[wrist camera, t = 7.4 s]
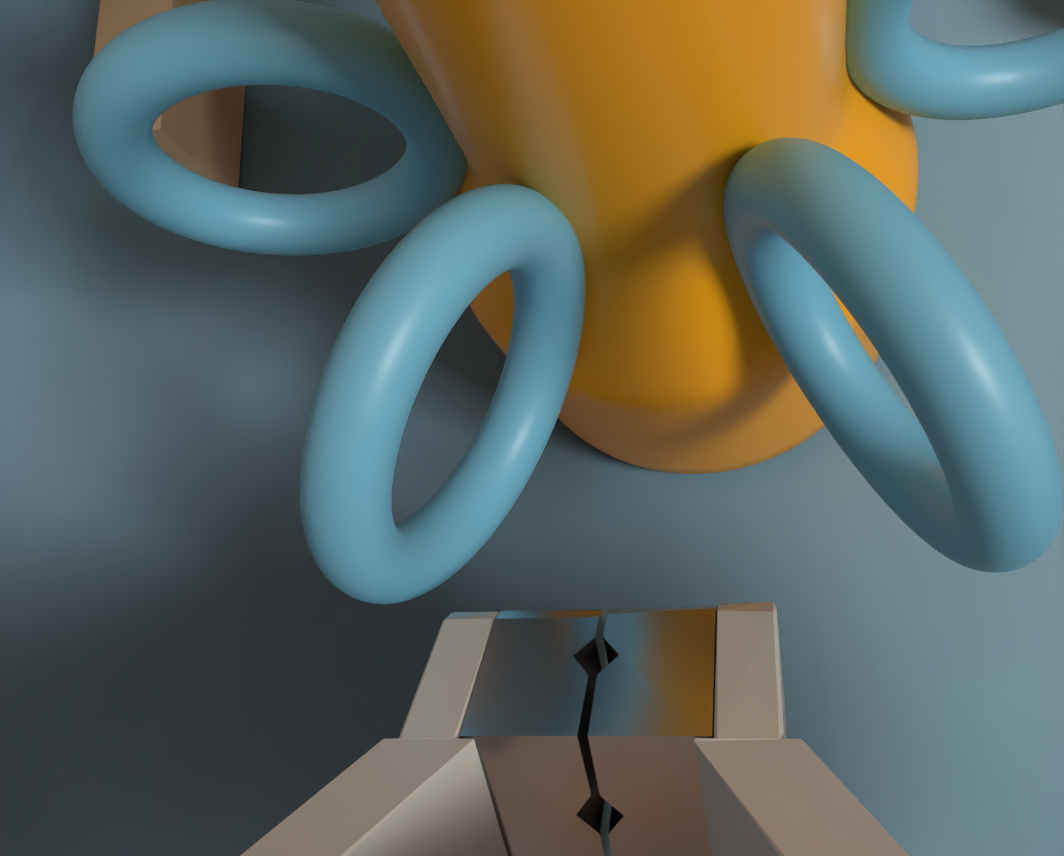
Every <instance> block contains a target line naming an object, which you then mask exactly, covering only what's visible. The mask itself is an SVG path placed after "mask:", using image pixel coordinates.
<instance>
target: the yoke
mask: <svg viewBox="0 0 1064 856" xmlns="http://www.w3.org/2000/svg"><path fill="white" fill-rule="evenodd" d="M204 1H210V0H100V7H99V16H98V24H97V33H96V42H95V50H94V57H95V55H96V54H97V53H98V52H99V51H100V50H101V49H102V48H103V47H104V46H105V45H106V44H107V43H108V42H109V41H111V40H112V39H113V38H114V37H116V36H117V35H118V34H120V33H121V32H123V31H124V30H126V29H128V28H129V27H131V26H133V25H134V24H136V23H138V22H140V21H142V20H144V19H146V18H149V17H151V16H153V15H156V14H159V13H161V12H164V11H167V10H170V9H173V8H177V7H180V6H184V5H189V4H193V3H198V2H204ZM245 87H246V86H235V87H228V88H222V89H217V90H212V91H208V92H204V93H201V94H198V95H195V96H192V97H189V98H187V99H185V100H182V101H180V102H178V103H176V104H175V105H173V106H171V107H170V108H168V109H167V110H166V111H164V112H163V113H162V114H161V115H160V116H159V117H158V118H157V120H156V121H155V123H154V125H153V130H152V131H153V136H154V138H155V140H156V142H157V144H158V145H159V146H160V147H161V149H162V150H163V151H164V152H165V153H166V154H167V155H169V156H170V157H171V158H172V159H173V160H175V161H176V162H178V163H179V164H181V165H182V166H184V167H186V168H187V169H189V170H191V171H193V172H195V173H197V174H199V175H201V176H204V177H206V178H208V179H211V180H214V181H217V182H220V183H223V184H226V185H229V186H233V187H237V188H239V174H240V159H241V145H242V130H243V116H244V101H245Z"/></svg>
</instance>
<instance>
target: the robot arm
mask: <svg viewBox="0 0 1064 856" xmlns="http://www.w3.org/2000/svg"><path fill="white" fill-rule="evenodd" d="M240 856H909V855H908V854H907V853H906V852H905V851H904V850H903V849H902V848H901V846H900V845H899V844H898V843H897V842H896V841H895V840H894V839H893V838H892V837H891V836H890V834H889V833H888V832H887V831H886V830H885V829H884V828H883V827H882V826H881V825H880V824H879V823H878V821H877V820H876V819H875V818H874V817H873V816H872V815H871V814H870V813H869V812H868V811H867V809H866V808H865V807H864V806H863V805H862V804H861V803H860V802H859V801H858V800H857V799H856V797H855V796H854V795H853V794H852V793H851V792H850V791H849V790H848V789H847V788H846V787H845V785H844V784H843V783H842V782H841V781H840V780H839V779H838V778H837V777H836V776H835V775H834V773H833V772H832V771H831V770H830V769H829V768H828V767H827V766H826V765H825V764H824V763H823V762H822V760H821V759H820V758H819V757H818V756H817V755H816V754H815V753H814V752H813V751H812V750H811V748H810V747H809V746H808V745H807V744H806V743H805V742H804V741H803V740H802V739H788V737H787V725H786V714H785V702H784V690H783V678H782V666H781V654H780V642H779V630H778V618H777V608H776V606H775V605H774V603H773V602H762V603H743V604H725V605H719V607H718V606H710V607H683V608H656V609H628V610H612V611H611V612H610V613H608V614H607V615H606V613H605V612H604V611H603V610H551V611H502V612H452V613H451V614H450V615H449V616H448V617H447V618H446V619H445V620H444V621H443V622H442V624H441V627H440V629H439V632H438V635H437V637H436V640H435V643H434V645H433V648H432V651H431V653H430V656H429V659H428V661H427V664H426V667H425V669H424V672H423V674H422V677H421V680H420V682H419V685H418V688H417V690H416V693H415V696H414V698H413V701H412V704H411V706H410V709H409V712H408V714H407V717H406V720H405V722H404V725H403V728H402V730H401V733H400V736H399V738H398V739H382V740H381V741H380V742H379V743H378V744H376V745H375V746H374V747H373V748H371V749H370V750H369V751H368V752H367V753H365V754H364V755H363V756H362V757H360V758H359V759H358V760H357V761H355V762H354V763H353V764H352V765H351V766H349V767H348V768H347V769H346V770H344V771H343V772H342V773H341V774H340V775H338V776H337V777H336V778H335V779H333V780H332V781H331V782H330V783H329V784H327V785H326V786H325V787H324V788H322V789H321V790H320V791H319V792H317V793H316V794H315V795H314V796H313V797H311V798H310V799H309V800H308V801H306V802H305V803H304V804H303V805H302V806H300V807H299V808H298V809H297V810H295V811H294V812H293V813H292V814H290V815H289V816H288V817H287V818H286V819H284V820H283V821H282V822H281V823H279V824H278V825H277V826H276V827H275V828H273V829H272V830H271V831H270V832H268V833H267V834H266V835H265V836H264V837H262V838H261V839H260V840H259V841H257V842H256V843H255V844H254V845H252V846H251V847H250V848H249V849H248V850H246V851H245V852H244V853H243V854H241V855H240Z"/></svg>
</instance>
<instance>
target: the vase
mask: <svg viewBox="0 0 1064 856" xmlns="http://www.w3.org/2000/svg"><path fill="white" fill-rule="evenodd" d="M375 1H376V2H377V4H378V6H379V8H380V9H381V11H382V13H383V14H384V16H385V18H386V19H387V21H388V23H389V24H390V26H391V28H392V30H391V29H389V28H387V27H385V26H383V25H381V24H379V23H377V22H374V21H372V20H369V19H367V18H364V17H362V16H359V15H356V14H353V13H350V12H347V11H344V10H340V9H337V8H333V7H329V6H325V5H320V4H315V3H310V2H304V1H297V0H210V1H204V2H198V3H193V4H189V5H184V6H180V7H177V8H173V9H170V10H167V11H164V12H161V13H159V14H156V15H153V16H151V17H149V18H146V19H144V20H142V21H140V22H138V23H136V24H134V25H133V26H131V27H129V28H128V29H126V30H124V31H123V32H121V33H120V34H118V35H117V36H116V37H114V38H113V39H112V40H111V41H109V42H108V43H107V44H106V45H105V46H104V47H103V48H102V49H101V50H100V51H99V52H98V53H97V54H96V55H95V57H94V58H93V59H92V60H91V62H90V63H89V65H88V66H87V68H86V69H85V71H84V73H83V75H82V77H81V79H80V81H79V84H78V86H77V89H76V93H75V97H74V102H73V113H72V119H73V129H74V135H75V139H76V142H77V145H78V148H79V151H80V153H81V155H82V157H83V159H84V161H85V163H86V165H87V167H88V168H89V170H90V171H91V173H92V174H93V175H94V177H95V178H96V179H97V181H98V182H99V183H100V184H101V185H102V186H103V187H104V188H105V190H106V191H107V192H108V193H110V194H111V195H112V196H113V197H114V198H115V199H116V200H117V201H119V202H120V203H121V204H122V205H124V206H125V207H126V208H128V209H129V210H131V211H132V212H134V213H135V214H137V215H138V216H140V217H142V218H143V219H145V220H147V221H149V222H151V223H153V224H154V225H156V226H158V227H161V228H163V229H165V230H167V231H170V232H172V233H174V234H177V235H179V236H182V237H185V238H188V239H191V240H194V241H197V242H200V243H204V244H207V245H211V246H215V247H220V248H224V249H229V250H235V251H240V252H247V253H255V254H265V255H281V256H308V255H323V254H333V253H340V252H347V251H352V250H357V249H362V248H366V247H370V246H374V245H377V244H380V243H384V242H387V241H389V240H392V239H395V238H397V237H400V236H402V235H404V234H406V233H408V234H407V235H406V236H405V237H404V238H403V239H402V240H401V241H400V242H399V243H398V244H397V245H396V246H395V248H394V249H393V250H392V251H391V252H390V254H389V255H388V256H387V257H386V258H385V260H384V261H383V262H382V264H381V265H380V266H379V268H378V269H377V270H376V272H375V273H374V275H373V276H372V277H371V279H370V280H369V282H368V283H367V285H366V286H365V288H364V289H363V291H362V293H361V294H360V296H359V298H358V299H357V301H356V303H355V304H354V306H353V308H352V310H351V311H350V313H349V315H348V317H347V319H346V321H345V323H344V325H343V327H342V329H341V331H340V333H339V335H338V337H337V339H336V341H335V343H334V345H333V348H332V350H331V352H330V355H329V357H328V360H327V362H326V365H325V367H324V370H323V372H322V375H321V378H320V381H319V384H318V387H317V390H316V393H315V396H314V400H313V403H312V407H311V410H310V414H309V418H308V422H307V427H306V432H305V437H304V443H303V449H302V456H301V465H300V482H299V497H300V511H301V519H302V525H303V530H304V534H305V537H306V541H307V544H308V547H309V549H310V552H311V554H312V556H313V558H314V560H315V562H316V564H317V566H318V567H319V569H320V570H321V572H322V573H323V574H324V576H325V577H326V578H327V579H328V580H329V581H330V582H331V583H332V584H333V585H334V586H335V587H336V588H338V589H339V590H340V591H342V592H343V593H345V594H347V595H348V596H350V597H352V598H355V599H357V600H360V601H363V602H367V603H373V604H394V603H400V602H404V601H408V600H411V599H414V598H416V597H419V596H421V595H423V594H425V593H427V592H429V591H431V590H433V589H434V588H436V587H438V586H439V585H441V584H442V583H444V582H445V581H446V580H448V579H449V578H450V577H452V576H453V575H454V574H455V573H456V572H458V571H459V570H460V569H461V568H462V567H463V566H464V565H465V564H466V563H467V562H468V561H469V560H470V559H471V558H472V557H473V556H474V555H475V554H476V553H477V552H478V551H479V550H480V549H481V548H482V546H483V545H484V544H485V543H486V542H487V540H488V539H489V538H490V537H491V536H492V534H493V533H494V532H495V530H496V529H497V528H498V526H499V525H500V524H501V522H502V521H503V520H504V518H505V517H506V515H507V514H508V512H509V511H510V509H511V508H512V506H513V505H514V503H515V502H516V500H517V498H518V497H519V495H520V494H521V492H522V490H523V489H524V487H525V485H526V483H527V482H528V480H529V478H530V476H531V474H532V473H533V471H534V469H535V467H536V465H537V463H538V461H539V459H540V457H541V455H542V453H543V451H544V449H545V446H546V444H547V442H548V440H549V438H550V435H551V433H552V431H553V428H554V426H555V423H556V421H557V418H559V419H560V420H561V421H562V422H563V423H564V424H565V425H566V426H567V427H568V428H569V429H570V430H572V431H573V432H574V433H575V434H576V435H577V436H579V437H580V438H581V439H583V440H584V441H586V442H587V443H589V444H590V445H592V446H593V447H595V448H597V449H599V450H600V451H602V452H604V453H606V454H608V455H610V456H612V457H614V458H616V459H619V460H621V461H624V462H627V463H630V464H633V465H636V466H639V467H643V468H647V469H651V470H656V471H663V472H670V473H681V474H702V473H716V472H724V471H729V470H734V469H739V468H743V467H747V466H750V465H754V464H757V463H760V462H763V461H766V460H768V459H771V458H773V457H775V456H777V455H780V454H782V453H784V452H786V451H788V450H790V449H792V448H794V447H795V446H797V445H799V444H801V443H802V442H804V441H805V440H807V439H808V438H810V437H811V436H812V435H814V434H815V433H817V432H818V431H819V430H821V429H822V428H823V427H824V426H826V428H827V429H828V431H829V432H830V433H831V435H832V436H833V438H834V439H835V440H836V442H837V443H838V445H839V446H840V447H841V449H842V450H843V451H844V453H845V454H846V455H847V457H848V458H849V459H850V460H851V462H852V463H853V464H854V466H855V467H856V468H857V469H858V471H859V472H860V473H861V474H862V476H863V477H864V478H865V479H866V481H867V482H868V483H869V484H870V485H871V487H872V488H873V489H874V490H875V491H876V492H877V494H878V495H879V496H880V497H881V498H882V499H883V500H884V502H885V503H886V504H887V505H888V506H889V507H890V508H891V509H892V510H893V511H894V512H895V513H896V514H897V515H898V517H899V518H900V519H901V520H902V521H903V522H904V523H905V524H906V525H908V526H909V527H910V528H911V529H912V530H913V531H914V532H915V533H916V534H917V535H918V536H919V537H921V538H922V539H923V540H924V541H925V542H927V543H928V544H929V545H930V546H932V547H933V548H934V549H936V550H937V551H938V552H940V553H941V554H943V555H944V556H946V557H947V558H949V559H951V560H953V561H955V562H956V563H959V564H961V565H963V566H965V567H968V568H971V569H974V570H978V571H983V572H1008V571H1012V570H1016V569H1019V568H1022V567H1024V566H1026V565H1028V564H1030V563H1032V562H1033V561H1035V560H1036V559H1037V558H1038V557H1040V556H1041V555H1042V554H1043V553H1044V552H1045V551H1046V549H1047V548H1048V547H1049V546H1050V544H1051V543H1052V541H1053V539H1054V537H1055V535H1056V533H1057V530H1058V528H1059V524H1060V520H1061V515H1062V507H1063V488H1062V479H1061V472H1060V467H1059V462H1058V458H1057V453H1056V450H1055V446H1054V443H1053V439H1052V436H1051V433H1050V430H1049V427H1048V425H1047V422H1046V419H1045V417H1044V414H1043V411H1042V409H1041V407H1040V404H1039V402H1038V400H1037V397H1036V395H1035V393H1034V391H1033V388H1032V386H1031V384H1030V382H1029V380H1028V378H1027V376H1026V374H1025V372H1024V370H1023V368H1022V366H1021V364H1020V362H1019V360H1018V358H1017V357H1016V355H1015V353H1014V351H1013V349H1012V347H1011V346H1010V344H1009V342H1008V340H1007V339H1006V337H1005V335H1004V334H1003V332H1002V330H1001V328H1000V327H999V325H998V324H997V322H996V320H995V319H994V317H993V316H992V314H991V312H990V311H989V309H988V308H987V306H986V305H985V303H984V302H983V300H982V299H981V297H980V296H979V294H978V293H977V291H976V290H975V288H974V287H973V286H972V284H971V283H970V281H969V280H968V279H967V277H966V276H965V274H964V273H963V272H962V270H961V269H960V268H959V266H958V265H957V264H956V262H955V261H954V260H953V259H952V257H951V256H950V255H949V253H948V252H947V251H946V250H945V248H944V247H943V246H942V245H941V244H940V242H939V241H938V240H937V239H936V238H935V236H934V235H933V234H932V233H931V232H930V231H929V229H928V228H927V227H926V226H925V225H924V224H923V223H922V222H921V221H920V219H919V218H918V217H917V216H916V215H915V208H916V200H917V189H918V151H917V143H916V137H915V132H914V127H913V123H912V119H911V116H910V115H913V116H918V117H924V118H931V119H943V120H973V119H986V118H995V117H1003V116H1009V115H1015V114H1020V113H1025V112H1030V111H1035V110H1039V109H1043V108H1047V107H1051V106H1054V105H1058V104H1061V103H1064V27H1063V28H1060V29H1057V30H1054V31H1051V32H1048V33H1045V34H1042V35H1038V36H1035V37H1031V38H1027V39H1023V40H1019V41H1014V42H1009V43H1003V44H996V45H986V46H955V45H947V44H942V43H938V42H934V41H931V40H929V39H927V38H925V37H923V36H921V35H920V34H918V33H917V32H916V31H915V30H914V29H913V28H912V26H911V24H910V21H909V11H910V7H911V4H912V1H913V0H375ZM246 85H283V86H294V87H302V88H308V89H314V90H319V91H323V92H328V93H332V94H335V95H339V96H342V97H345V98H348V99H351V100H353V101H356V102H358V103H360V104H363V105H365V106H367V107H369V108H371V109H373V110H375V111H376V112H378V113H380V114H381V115H383V116H384V117H386V118H387V119H388V120H390V121H391V122H392V123H393V124H394V125H395V126H396V127H397V128H398V129H399V130H400V131H401V133H402V134H403V136H404V138H405V140H406V150H405V153H404V155H403V156H402V158H401V159H400V160H399V161H398V162H397V163H396V164H395V165H394V166H393V167H392V168H391V169H389V170H388V171H386V172H385V173H383V174H382V175H380V176H378V177H376V178H374V179H372V180H369V181H367V182H365V183H362V184H359V185H356V186H353V187H349V188H345V189H341V190H336V191H330V192H323V193H313V194H276V193H265V192H258V191H252V190H246V189H242V188H237V187H233V186H229V185H226V184H223V183H220V182H217V181H214V180H211V179H208V178H206V177H204V176H201V175H199V174H197V173H195V172H193V171H191V170H189V169H187V168H186V167H184V166H182V165H181V164H179V163H178V162H176V161H175V160H173V159H172V158H171V157H170V156H169V155H167V154H166V153H165V152H164V151H163V150H162V149H161V147H160V146H159V145H158V144H157V142H156V140H155V138H154V136H153V131H152V130H153V125H154V123H155V121H156V120H157V118H158V117H159V116H160V115H161V114H162V113H163V112H164V111H166V110H167V109H168V108H170V107H171V106H173V105H175V104H176V103H178V102H180V101H182V100H185V99H187V98H189V97H192V96H195V95H198V94H201V93H204V92H208V91H212V90H217V89H222V88H228V87H235V86H246ZM468 306H470V307H471V309H472V311H473V312H474V314H475V316H476V317H477V319H478V321H479V322H480V323H481V325H482V326H483V328H484V329H485V330H486V332H487V333H488V334H489V336H490V337H491V338H492V339H493V341H494V342H495V343H496V344H497V346H498V347H499V348H500V349H501V351H502V352H503V353H504V354H505V355H506V360H505V364H504V367H503V371H502V374H501V377H500V380H499V383H498V386H497V389H496V391H495V394H494V396H493V399H492V401H491V404H490V406H489V409H488V411H487V413H486V415H485V418H484V420H483V422H482V424H481V426H480V428H479V430H478V432H477V434H476V436H475V437H474V439H473V441H472V443H471V445H470V446H469V448H468V450H467V451H466V453H465V455H464V456H463V458H462V459H461V461H460V462H459V464H458V465H457V467H456V468H455V470H454V471H453V472H452V474H451V475H450V476H449V478H448V479H447V480H446V482H445V483H444V484H443V485H442V487H441V488H440V489H439V490H438V491H437V492H436V493H435V495H434V496H433V497H432V498H431V499H430V500H429V501H428V502H427V503H426V504H425V505H424V506H422V507H421V508H420V509H419V510H418V511H416V512H415V513H414V514H413V515H411V516H410V517H408V518H407V519H405V520H403V521H401V522H399V523H396V524H394V520H393V515H392V485H393V477H394V470H395V465H396V460H397V455H398V451H399V447H400V443H401V440H402V436H403V433H404V429H405V426H406V423H407V420H408V417H409V414H410V412H411V409H412V406H413V404H414V401H415V399H416V396H417V394H418V391H419V389H420V387H421V384H422V382H423V380H424V378H425V376H426V374H427V372H428V370H429V368H430V366H431V364H432V362H433V360H434V358H435V356H436V354H437V352H438V351H439V349H440V347H441V345H442V344H443V342H444V340H445V339H446V337H447V335H448V334H449V332H450V331H451V329H452V328H453V326H454V325H455V323H456V322H457V320H458V319H459V317H460V316H461V315H462V313H463V312H464V311H465V309H466V308H467V307H468ZM878 354H879V355H880V356H881V358H882V359H883V361H884V362H885V364H886V366H887V367H888V369H889V370H890V372H891V373H892V375H893V377H894V378H895V380H896V381H897V383H898V385H899V386H900V388H901V390H902V391H903V393H904V395H905V397H906V398H907V400H908V402H909V403H910V405H911V407H912V409H913V411H914V412H915V414H916V416H917V418H918V420H919V422H920V423H921V424H920V423H919V422H918V421H917V419H916V418H915V417H914V416H913V415H912V414H911V412H910V411H909V410H908V409H907V407H906V406H905V405H904V404H903V402H902V401H901V400H900V399H899V397H898V396H897V395H896V393H895V392H894V391H893V389H892V388H891V387H890V385H889V384H888V383H887V381H886V380H885V378H884V377H883V376H882V374H881V373H880V371H879V370H878V369H877V367H876V366H875V364H874V363H875V361H876V359H877V357H878Z"/></svg>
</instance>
